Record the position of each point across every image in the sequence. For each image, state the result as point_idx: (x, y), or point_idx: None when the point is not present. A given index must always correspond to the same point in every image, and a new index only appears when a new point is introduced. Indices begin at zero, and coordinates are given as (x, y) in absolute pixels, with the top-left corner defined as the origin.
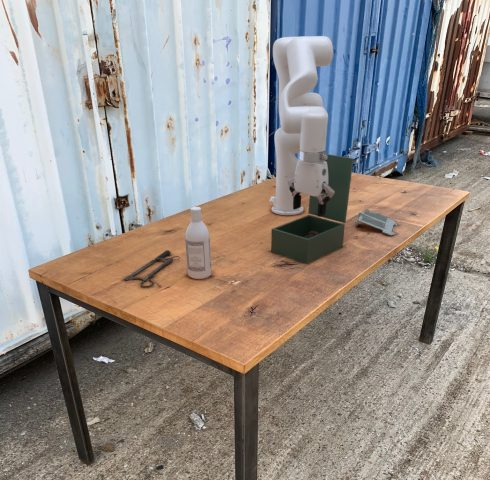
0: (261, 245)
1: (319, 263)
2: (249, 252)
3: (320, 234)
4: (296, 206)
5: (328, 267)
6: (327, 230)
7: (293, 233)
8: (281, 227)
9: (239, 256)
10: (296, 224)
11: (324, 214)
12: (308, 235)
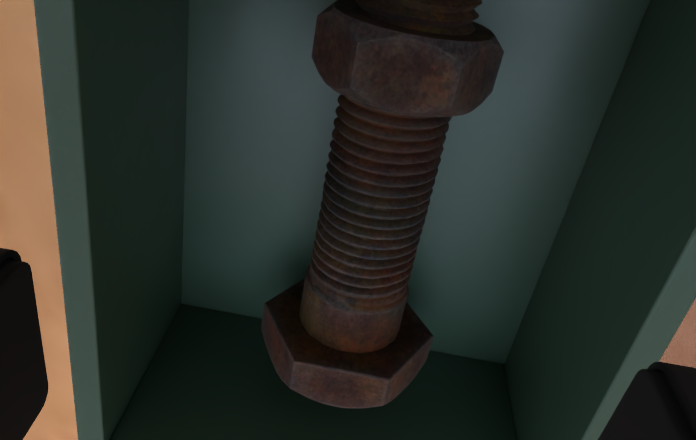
0: (15, 229)
1: None
2: (61, 366)
3: None
4: (16, 402)
5: (690, 350)
6: (683, 264)
7: (153, 103)
8: (104, 361)
9: (68, 432)
10: (110, 89)
11: (683, 373)
12: (378, 173)
